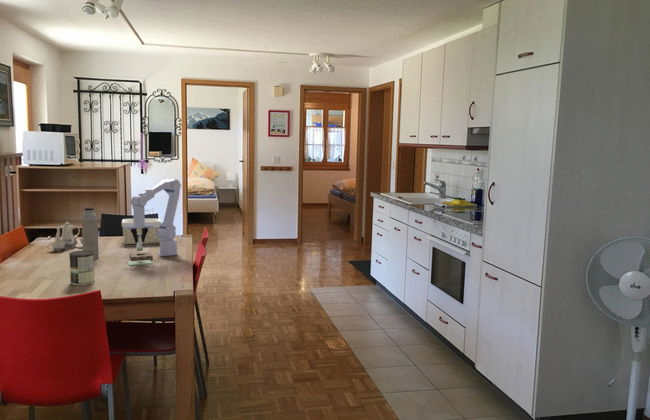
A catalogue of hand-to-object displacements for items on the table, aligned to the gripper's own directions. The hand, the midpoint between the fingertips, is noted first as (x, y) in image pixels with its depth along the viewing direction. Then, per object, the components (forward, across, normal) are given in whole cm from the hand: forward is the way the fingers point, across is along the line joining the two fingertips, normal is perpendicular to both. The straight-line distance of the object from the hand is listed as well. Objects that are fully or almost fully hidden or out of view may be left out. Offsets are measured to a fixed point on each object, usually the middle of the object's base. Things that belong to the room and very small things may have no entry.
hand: (139, 242), depth 290 cm
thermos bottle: (+11, +22, -20) cm, 32 cm away
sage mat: (+10, +1, +5) cm, 12 cm away
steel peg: (+4, 0, 0) cm, 5 cm away
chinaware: (+11, +28, -55) cm, 63 cm away
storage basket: (+11, -14, -55) cm, 58 cm away
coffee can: (+11, +34, +33) cm, 48 cm away
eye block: (+10, -2, -5) cm, 12 cm away
